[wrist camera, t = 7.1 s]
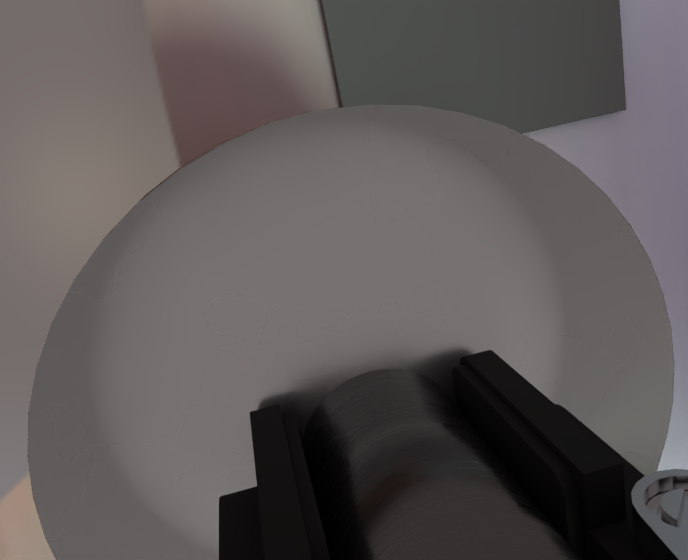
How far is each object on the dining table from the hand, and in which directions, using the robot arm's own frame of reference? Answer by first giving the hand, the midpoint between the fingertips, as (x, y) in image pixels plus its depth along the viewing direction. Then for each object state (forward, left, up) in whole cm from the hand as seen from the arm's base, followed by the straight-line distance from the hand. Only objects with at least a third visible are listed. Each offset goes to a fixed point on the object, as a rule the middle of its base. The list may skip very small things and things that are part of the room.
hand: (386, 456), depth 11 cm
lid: (0, 0, -1) cm, 1 cm away
